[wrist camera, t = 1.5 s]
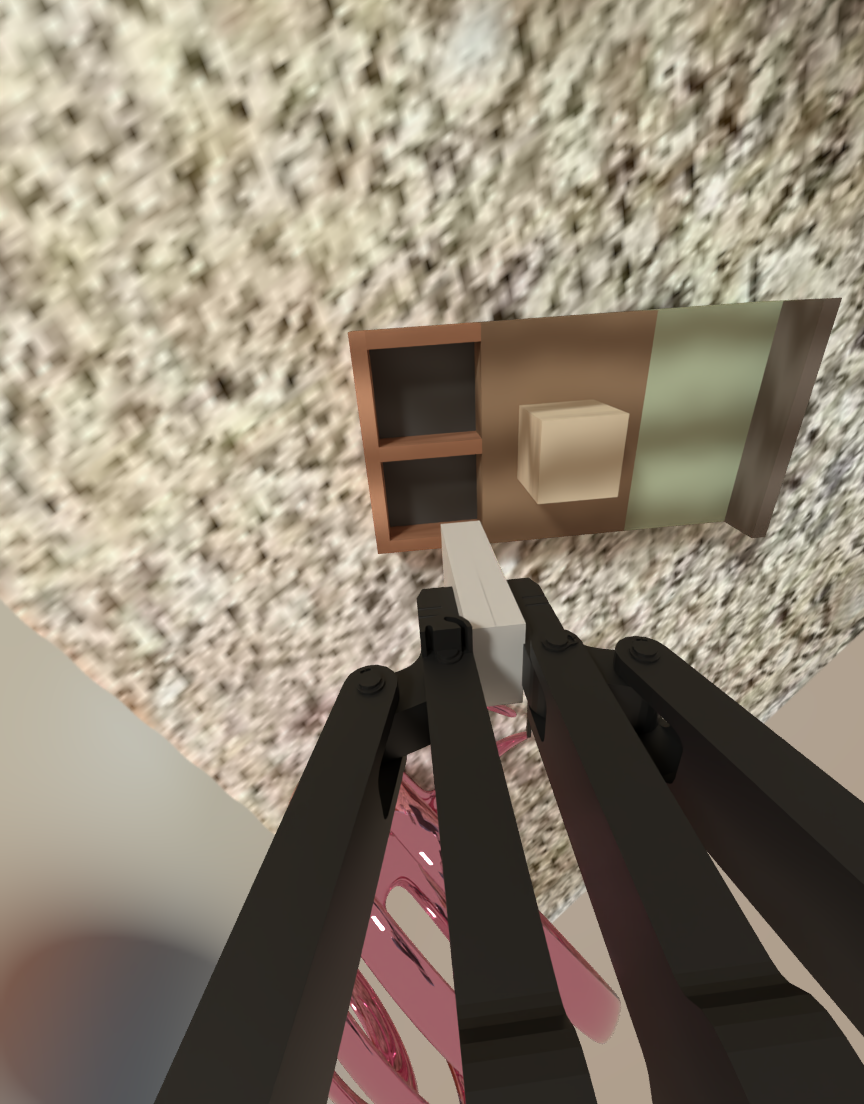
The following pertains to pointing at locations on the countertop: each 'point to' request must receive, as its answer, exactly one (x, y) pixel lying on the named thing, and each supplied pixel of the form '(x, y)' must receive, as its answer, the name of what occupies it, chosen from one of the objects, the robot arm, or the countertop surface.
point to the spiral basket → (417, 982)
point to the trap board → (585, 374)
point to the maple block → (571, 450)
